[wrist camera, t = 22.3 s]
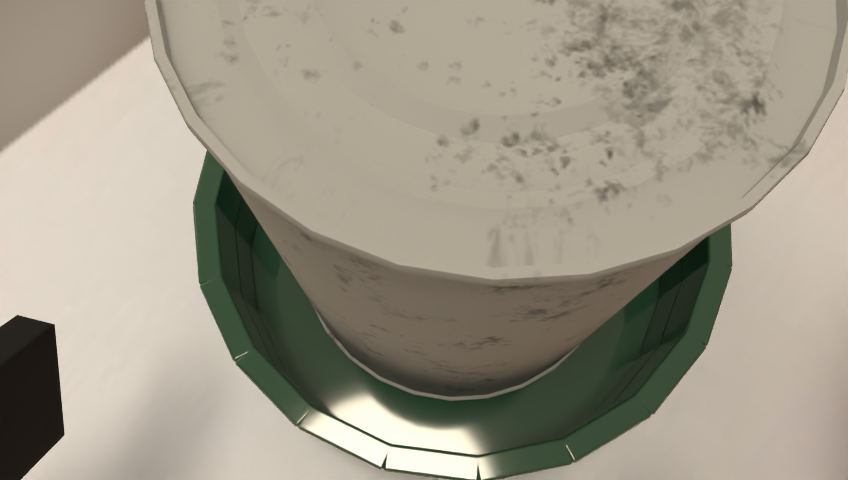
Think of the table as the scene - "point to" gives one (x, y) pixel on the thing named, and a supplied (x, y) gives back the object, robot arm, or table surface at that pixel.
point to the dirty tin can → (495, 156)
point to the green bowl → (433, 418)
